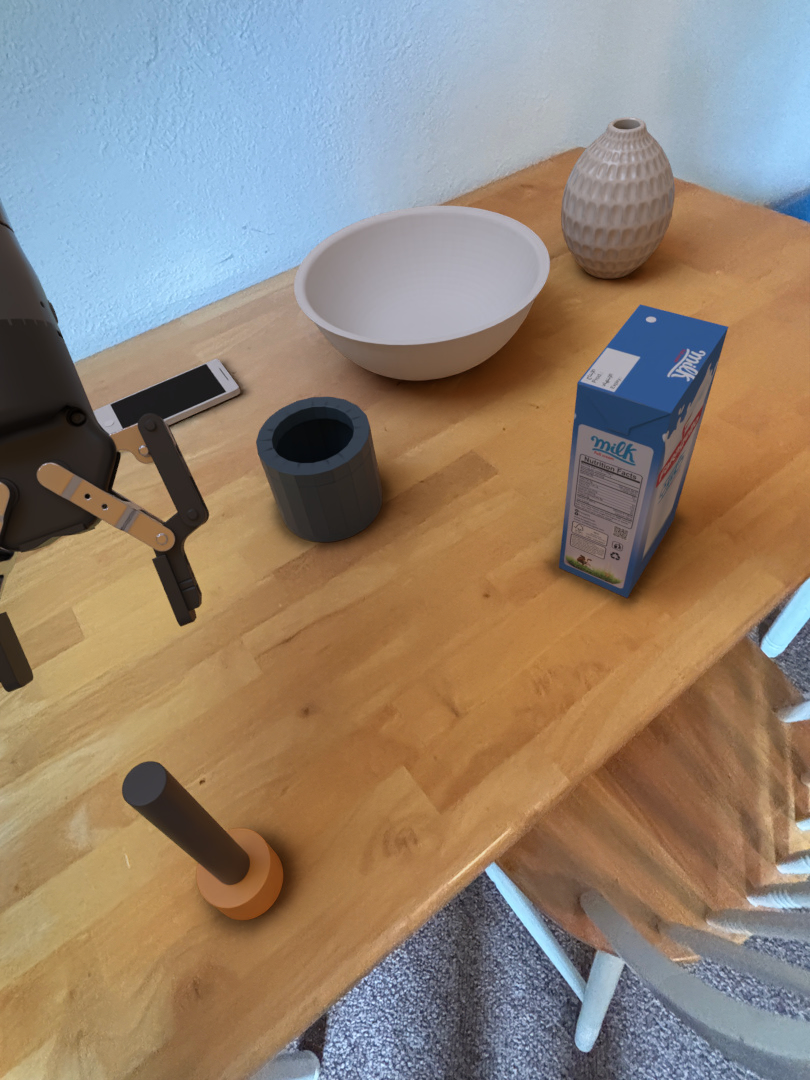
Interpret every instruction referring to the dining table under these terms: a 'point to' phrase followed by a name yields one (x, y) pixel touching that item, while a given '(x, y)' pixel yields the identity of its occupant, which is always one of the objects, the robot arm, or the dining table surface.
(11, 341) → the robot arm
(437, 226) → the bowl
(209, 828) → the plunger
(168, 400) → the smartphone
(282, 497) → the jar
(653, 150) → the vase
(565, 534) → the milk carton
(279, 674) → the dining table surface
